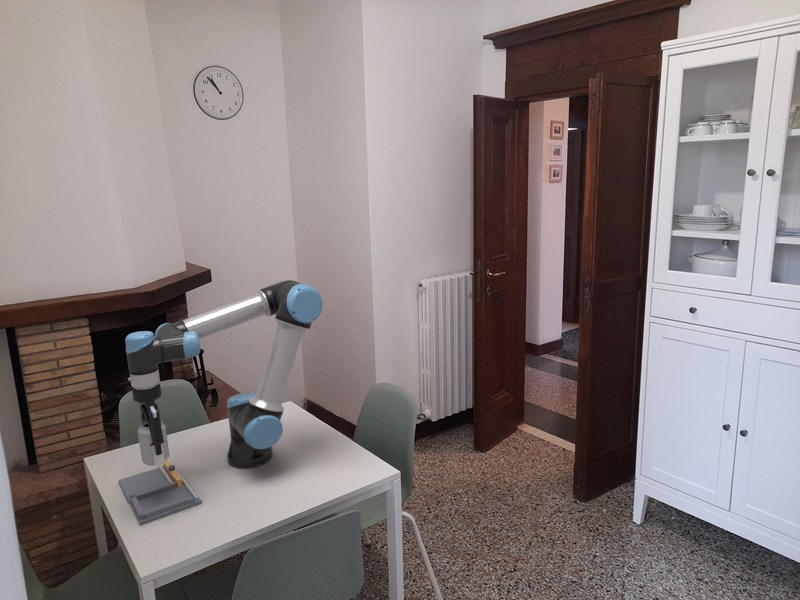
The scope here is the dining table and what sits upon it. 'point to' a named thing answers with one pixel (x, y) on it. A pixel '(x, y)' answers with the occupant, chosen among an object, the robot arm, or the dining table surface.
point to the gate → (172, 473)
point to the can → (147, 440)
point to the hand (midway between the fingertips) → (156, 458)
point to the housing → (157, 494)
